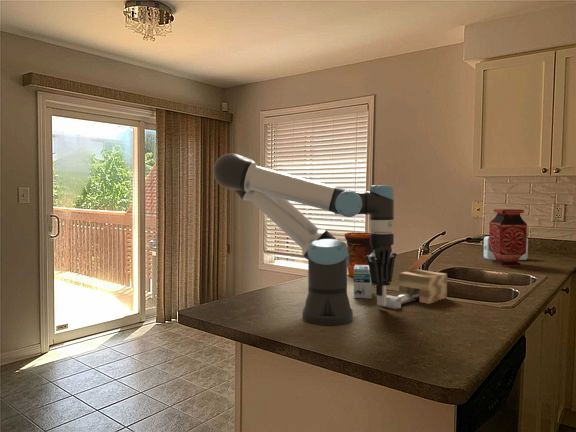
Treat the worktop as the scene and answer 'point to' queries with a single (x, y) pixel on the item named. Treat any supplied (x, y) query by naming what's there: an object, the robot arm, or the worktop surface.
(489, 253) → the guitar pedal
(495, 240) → the vase
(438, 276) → the block
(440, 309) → the worktop surface
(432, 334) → the worktop surface
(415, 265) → the keeper tab
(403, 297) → the grey t-shaped bar
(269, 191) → the robot arm
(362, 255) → the vessel
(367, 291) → the light bulb box
